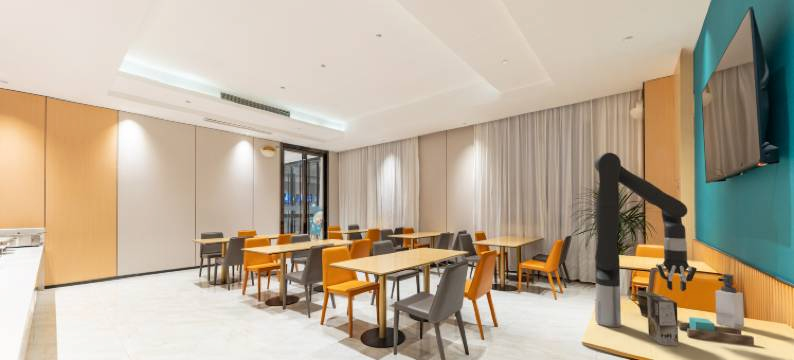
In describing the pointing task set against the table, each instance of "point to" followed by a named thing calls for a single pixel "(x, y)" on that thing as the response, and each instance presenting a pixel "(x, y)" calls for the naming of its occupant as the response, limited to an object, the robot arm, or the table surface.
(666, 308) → the coffee box
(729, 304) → the soap dispenser
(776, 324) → the table surface
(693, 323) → the block
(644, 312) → the ceramic cup
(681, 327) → the chute
